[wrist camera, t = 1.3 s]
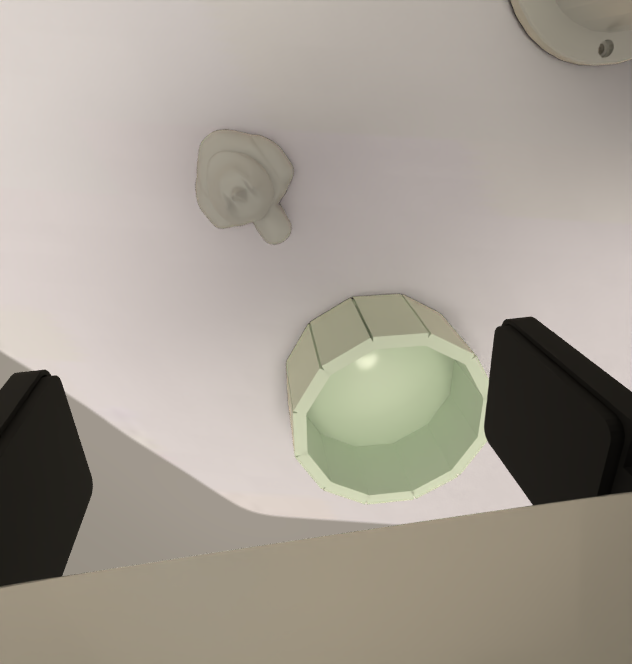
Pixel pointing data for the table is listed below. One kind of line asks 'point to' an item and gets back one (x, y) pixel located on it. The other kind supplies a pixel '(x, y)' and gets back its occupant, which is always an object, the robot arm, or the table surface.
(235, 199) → the rubber duck
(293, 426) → the pale green bowl
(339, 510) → the table surface
